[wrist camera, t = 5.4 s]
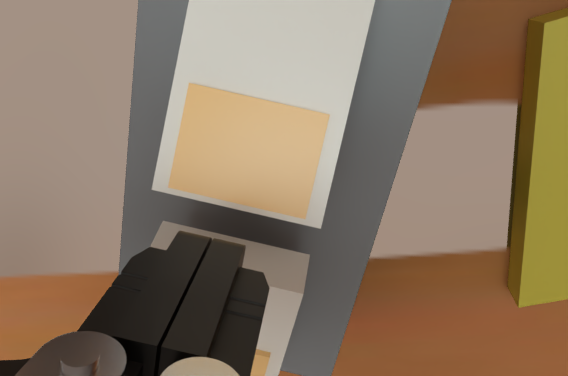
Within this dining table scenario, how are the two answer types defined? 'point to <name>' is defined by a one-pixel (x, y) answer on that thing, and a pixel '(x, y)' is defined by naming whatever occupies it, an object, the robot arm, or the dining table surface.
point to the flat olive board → (541, 168)
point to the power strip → (346, 181)
